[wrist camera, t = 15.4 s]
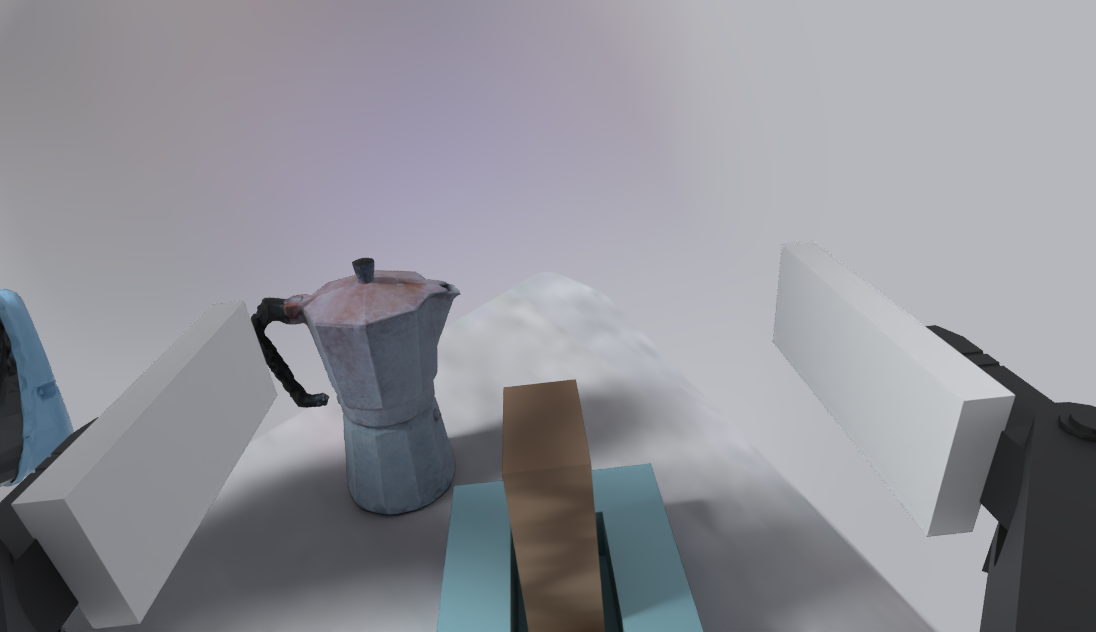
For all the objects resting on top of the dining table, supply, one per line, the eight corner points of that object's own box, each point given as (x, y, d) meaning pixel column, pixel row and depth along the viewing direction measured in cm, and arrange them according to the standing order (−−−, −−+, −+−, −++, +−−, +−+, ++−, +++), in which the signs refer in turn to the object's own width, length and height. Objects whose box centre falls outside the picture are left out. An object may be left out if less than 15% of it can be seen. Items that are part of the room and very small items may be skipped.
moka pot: (499, 495, 48) (459, 264, 40) (300, 549, 46) (207, 312, 37) (480, 427, 57) (443, 224, 48) (310, 468, 54) (236, 260, 45)
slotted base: (442, 804, 30) (422, 746, 28) (465, 537, 45) (453, 485, 43) (724, 771, 30) (728, 710, 28) (652, 515, 45) (650, 463, 43)
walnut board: (537, 681, 34) (502, 473, 27) (532, 577, 40) (503, 387, 33) (608, 672, 34) (591, 463, 27) (592, 570, 40) (575, 379, 33)
